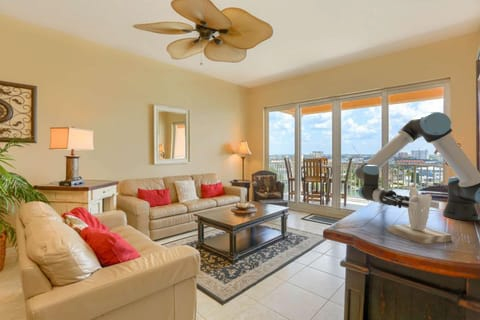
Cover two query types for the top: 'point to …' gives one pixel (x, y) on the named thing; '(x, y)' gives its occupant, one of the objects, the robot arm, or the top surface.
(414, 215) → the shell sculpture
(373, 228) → the top surface
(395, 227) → the striped wooden trivet
